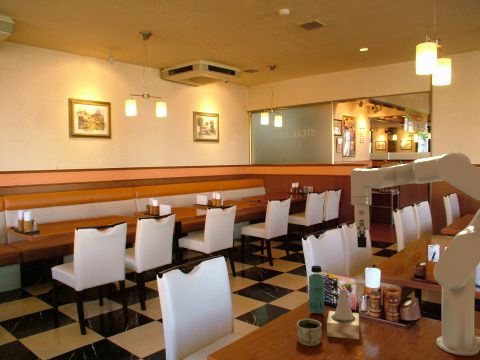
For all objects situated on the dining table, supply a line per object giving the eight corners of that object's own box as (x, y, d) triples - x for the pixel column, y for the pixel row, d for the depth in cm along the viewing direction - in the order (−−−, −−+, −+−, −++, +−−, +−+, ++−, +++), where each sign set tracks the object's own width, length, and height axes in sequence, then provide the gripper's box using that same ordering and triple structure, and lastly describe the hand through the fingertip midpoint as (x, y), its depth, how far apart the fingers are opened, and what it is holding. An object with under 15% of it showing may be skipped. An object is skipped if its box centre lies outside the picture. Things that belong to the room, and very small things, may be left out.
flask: (354, 322, 142) (354, 294, 141) (334, 320, 143) (333, 293, 143) (353, 314, 149) (352, 288, 148) (333, 313, 150) (333, 287, 150)
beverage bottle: (306, 312, 165) (305, 265, 164) (320, 309, 167) (319, 263, 166) (313, 318, 159) (312, 269, 158) (328, 315, 161) (327, 267, 160)
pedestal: (358, 326, 150) (358, 312, 150) (359, 339, 139) (358, 324, 139) (329, 323, 153) (329, 310, 153) (327, 336, 143) (327, 322, 142)
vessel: (294, 333, 145) (294, 317, 145) (318, 332, 146) (318, 316, 145) (299, 349, 133) (299, 331, 133) (325, 348, 134) (325, 330, 133)
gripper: (372, 203, 143) (373, 250, 144) (370, 198, 159) (371, 240, 160) (351, 203, 145) (351, 249, 146) (351, 198, 161) (351, 239, 162)
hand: (361, 244), depth 153 cm, fingers open, 9 cm apart
